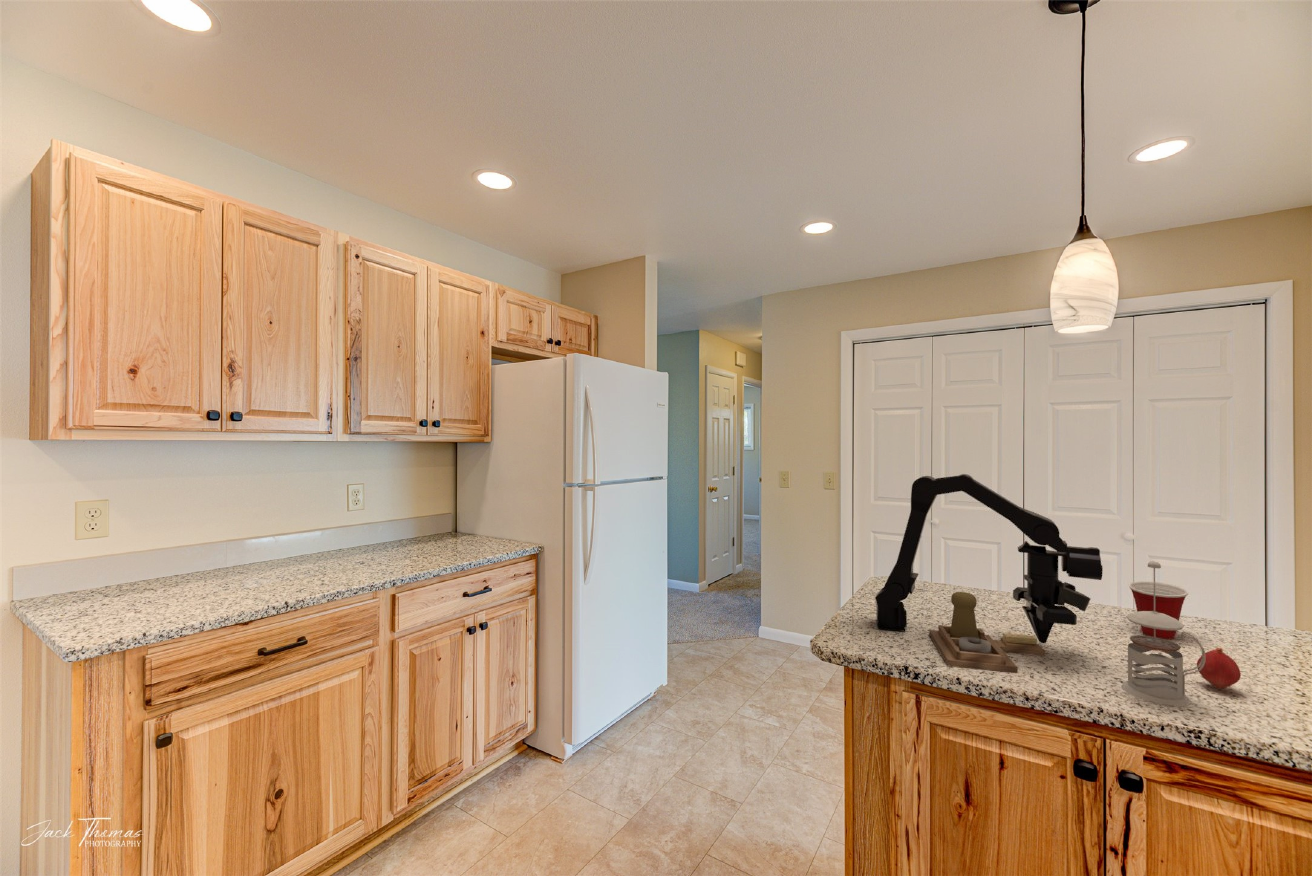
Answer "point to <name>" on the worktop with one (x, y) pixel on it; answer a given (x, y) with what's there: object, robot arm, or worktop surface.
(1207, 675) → the onion
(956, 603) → the olive pepper mill
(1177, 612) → the plastic cup
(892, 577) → the robot arm
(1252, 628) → the worktop surface
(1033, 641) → the bar
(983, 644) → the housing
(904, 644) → the worktop surface
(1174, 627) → the french press
